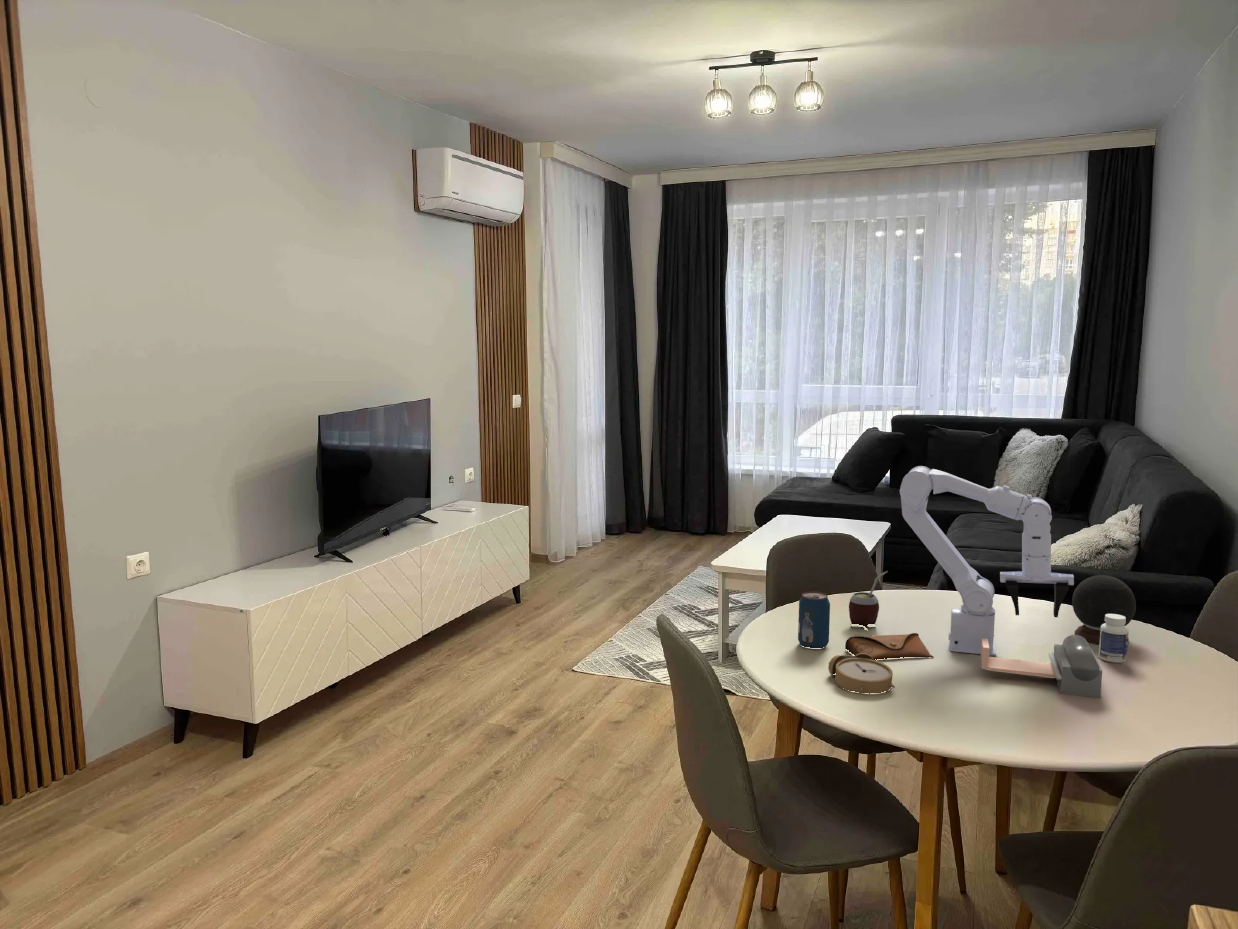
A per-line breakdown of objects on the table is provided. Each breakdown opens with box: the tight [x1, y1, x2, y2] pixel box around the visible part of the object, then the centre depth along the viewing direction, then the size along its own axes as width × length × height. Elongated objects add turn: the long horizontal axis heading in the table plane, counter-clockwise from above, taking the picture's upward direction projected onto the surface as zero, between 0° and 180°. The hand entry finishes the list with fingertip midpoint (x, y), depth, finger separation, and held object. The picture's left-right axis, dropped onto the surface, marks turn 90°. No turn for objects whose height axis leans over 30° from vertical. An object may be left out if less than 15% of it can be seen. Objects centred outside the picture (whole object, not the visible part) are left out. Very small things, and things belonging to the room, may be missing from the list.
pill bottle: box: [1098, 614, 1129, 664], centre depth 196 cm, size 5×5×10 cm
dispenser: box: [1048, 634, 1103, 699], centre depth 182 cm, size 8×14×8 cm, turn 160°
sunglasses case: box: [844, 632, 934, 660], centre depth 200 cm, size 18×7×7 cm, turn 101°
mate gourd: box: [848, 570, 889, 628], centre depth 218 cm, size 8×8×15 cm
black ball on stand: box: [1071, 574, 1137, 646], centre depth 209 cm, size 13×13×15 cm
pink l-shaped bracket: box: [980, 638, 1056, 679], centre depth 186 cm, size 14×7×5 cm, turn 70°
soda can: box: [797, 591, 831, 648], centre depth 205 cm, size 7×7×12 cm
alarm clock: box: [828, 653, 896, 694], centre depth 184 cm, size 11×5×15 cm
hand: (1036, 615), depth 197 cm, fingers open, 7 cm apart
